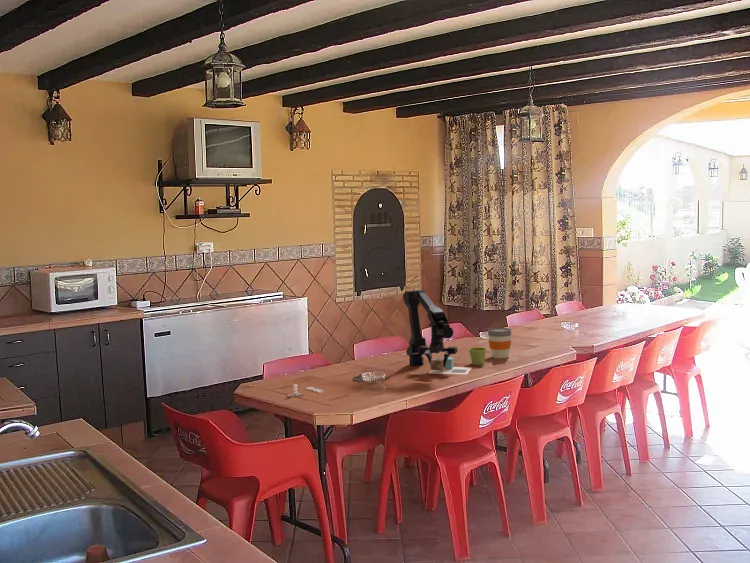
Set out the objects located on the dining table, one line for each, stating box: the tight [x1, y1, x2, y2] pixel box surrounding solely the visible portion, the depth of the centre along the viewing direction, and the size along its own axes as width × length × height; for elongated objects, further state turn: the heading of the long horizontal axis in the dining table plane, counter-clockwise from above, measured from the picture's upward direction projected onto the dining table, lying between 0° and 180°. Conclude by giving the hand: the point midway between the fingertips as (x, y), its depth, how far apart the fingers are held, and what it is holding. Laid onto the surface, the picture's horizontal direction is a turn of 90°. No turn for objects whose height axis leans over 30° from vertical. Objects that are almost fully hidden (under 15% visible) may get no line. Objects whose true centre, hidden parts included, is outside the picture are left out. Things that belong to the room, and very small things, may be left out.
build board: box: [428, 366, 473, 376], centre depth 379 cm, size 19×16×1 cm
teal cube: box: [445, 356, 455, 369], centre depth 385 cm, size 5×5×5 cm
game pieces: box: [286, 374, 363, 399], centre depth 356 cm, size 45×13×6 cm, turn 131°
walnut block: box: [430, 357, 445, 371], centre depth 377 cm, size 6×6×5 cm
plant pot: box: [467, 346, 488, 366], centre depth 393 cm, size 9×9×9 cm
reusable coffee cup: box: [487, 327, 512, 359], centre depth 412 cm, size 13×13×15 cm
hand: (438, 367), depth 377 cm, fingers closed on walnut block, 6 cm apart
